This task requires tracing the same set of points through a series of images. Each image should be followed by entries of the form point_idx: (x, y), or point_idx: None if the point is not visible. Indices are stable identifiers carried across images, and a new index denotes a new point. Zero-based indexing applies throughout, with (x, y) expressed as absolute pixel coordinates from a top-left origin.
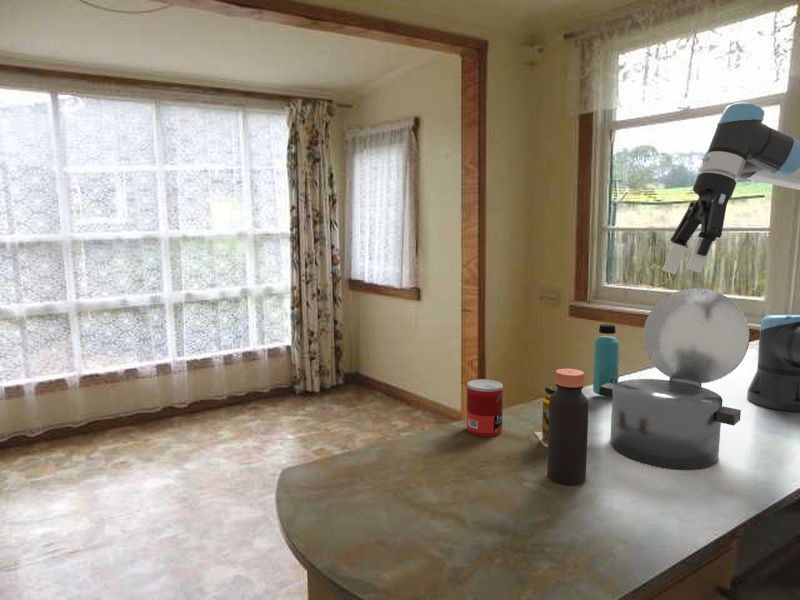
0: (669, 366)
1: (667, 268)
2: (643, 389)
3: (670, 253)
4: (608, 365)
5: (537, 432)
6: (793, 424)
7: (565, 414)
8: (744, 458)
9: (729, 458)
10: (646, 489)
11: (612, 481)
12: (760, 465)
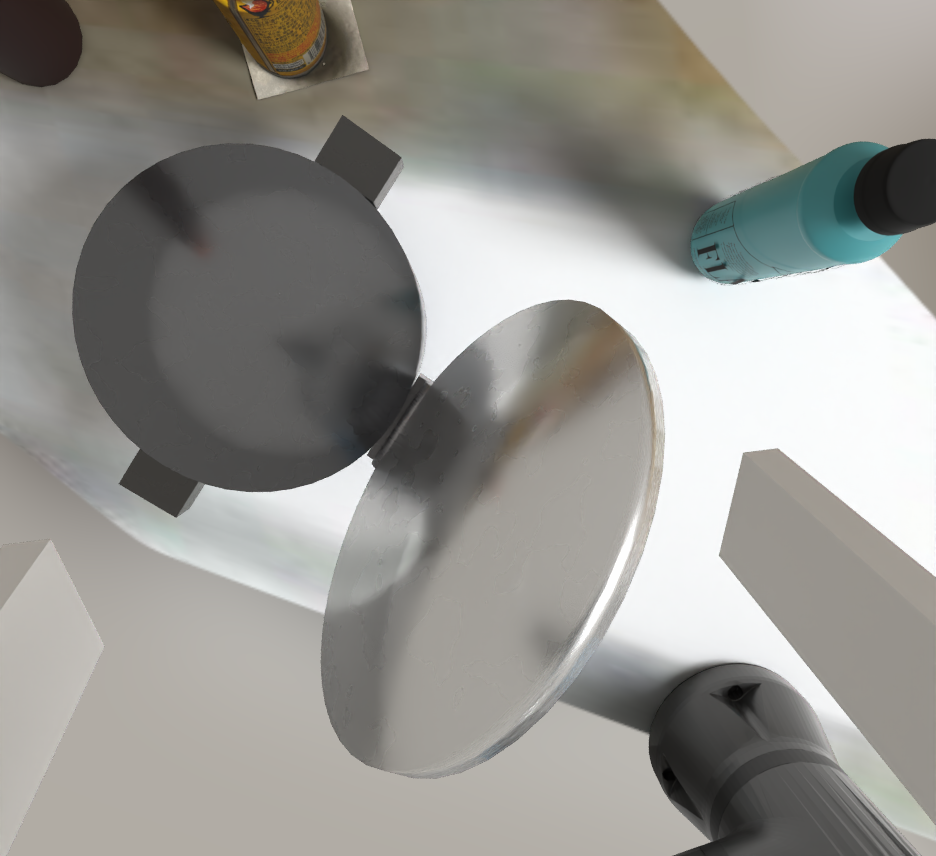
0: (446, 389)
1: (753, 497)
2: (269, 258)
3: (904, 604)
4: (744, 224)
5: None
6: None
7: None
8: (286, 505)
9: None
10: (36, 231)
11: (55, 157)
12: (252, 525)
